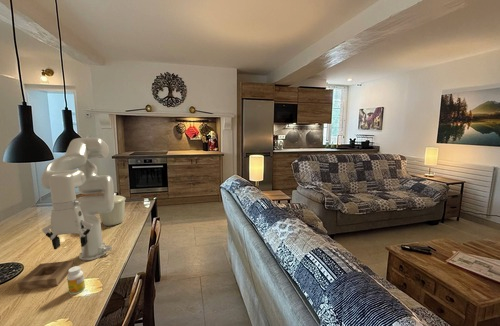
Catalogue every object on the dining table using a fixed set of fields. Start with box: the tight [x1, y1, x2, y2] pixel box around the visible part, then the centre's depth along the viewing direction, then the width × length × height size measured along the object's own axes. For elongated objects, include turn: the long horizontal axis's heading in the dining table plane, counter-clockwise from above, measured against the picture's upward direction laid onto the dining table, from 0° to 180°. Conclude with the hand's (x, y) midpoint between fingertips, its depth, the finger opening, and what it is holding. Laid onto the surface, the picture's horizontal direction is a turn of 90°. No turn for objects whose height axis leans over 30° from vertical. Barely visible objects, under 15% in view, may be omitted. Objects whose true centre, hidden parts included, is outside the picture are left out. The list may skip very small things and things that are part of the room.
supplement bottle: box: [66, 265, 86, 295], centre depth 100 cm, size 5×5×10 cm
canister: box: [98, 195, 127, 227], centre depth 169 cm, size 18×18×21 cm
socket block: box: [17, 260, 75, 291], centre depth 109 cm, size 14×14×4 cm
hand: (70, 246), depth 97 cm, fingers open, 9 cm apart
